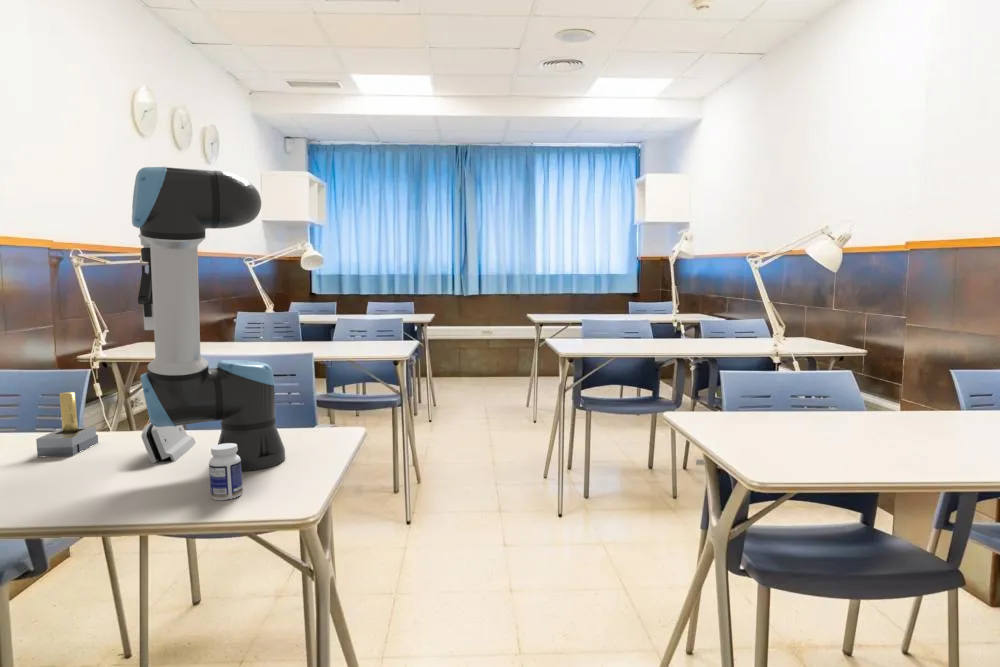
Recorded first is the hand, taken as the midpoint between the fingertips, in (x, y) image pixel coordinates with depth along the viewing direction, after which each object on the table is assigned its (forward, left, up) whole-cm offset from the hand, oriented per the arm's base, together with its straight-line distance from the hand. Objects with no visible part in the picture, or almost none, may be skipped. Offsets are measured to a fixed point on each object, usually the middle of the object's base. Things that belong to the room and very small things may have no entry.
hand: (161, 327), depth 174 cm
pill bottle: (-53, -32, -29) cm, 68 cm away
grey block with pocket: (-13, +18, -29) cm, 36 cm away
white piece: (-20, -8, -29) cm, 36 cm away
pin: (-13, +18, -29) cm, 36 cm away
